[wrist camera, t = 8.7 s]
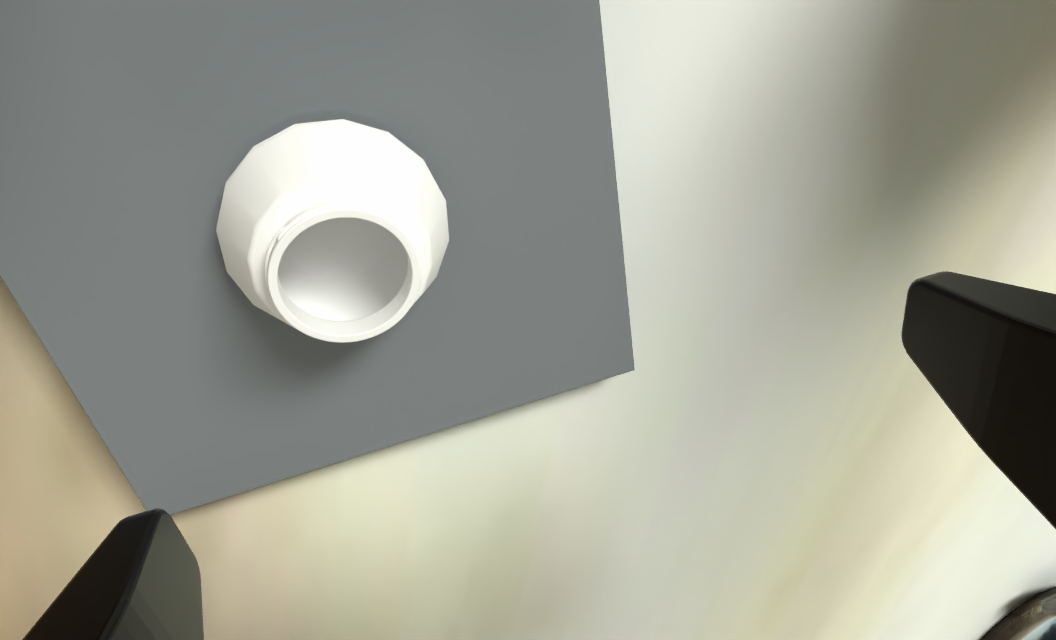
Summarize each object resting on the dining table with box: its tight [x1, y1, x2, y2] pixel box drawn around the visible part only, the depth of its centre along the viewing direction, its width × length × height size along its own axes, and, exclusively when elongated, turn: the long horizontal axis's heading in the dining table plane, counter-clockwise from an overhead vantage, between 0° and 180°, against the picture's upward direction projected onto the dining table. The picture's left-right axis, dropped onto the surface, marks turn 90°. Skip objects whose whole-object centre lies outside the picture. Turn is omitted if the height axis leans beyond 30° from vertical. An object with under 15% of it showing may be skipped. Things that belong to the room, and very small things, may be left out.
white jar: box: [216, 119, 449, 343], centre depth 16 cm, size 5×3×5 cm
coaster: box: [0, 0, 634, 515], centre depth 18 cm, size 14×14×1 cm
